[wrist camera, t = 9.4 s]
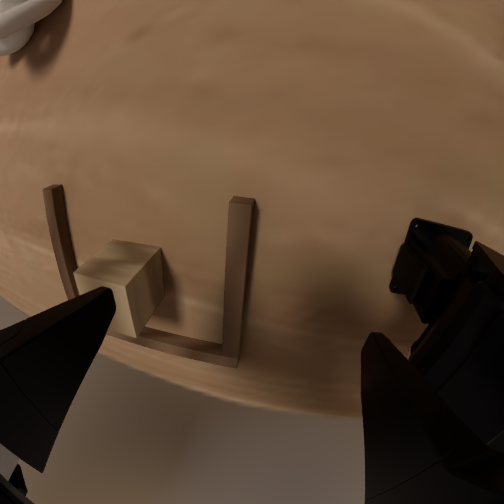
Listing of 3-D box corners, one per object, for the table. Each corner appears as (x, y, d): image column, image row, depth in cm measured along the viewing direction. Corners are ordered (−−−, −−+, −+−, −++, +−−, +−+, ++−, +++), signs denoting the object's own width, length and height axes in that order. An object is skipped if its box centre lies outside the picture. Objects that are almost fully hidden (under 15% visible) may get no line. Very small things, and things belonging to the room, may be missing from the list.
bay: (254, 198, 19) (251, 205, 18) (239, 357, 27) (237, 368, 25) (52, 184, 21) (42, 189, 19) (82, 315, 28) (76, 323, 27)
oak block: (160, 246, 22) (125, 286, 17) (165, 294, 24) (136, 338, 19) (113, 239, 22) (73, 272, 17) (121, 284, 25) (88, 322, 19)
